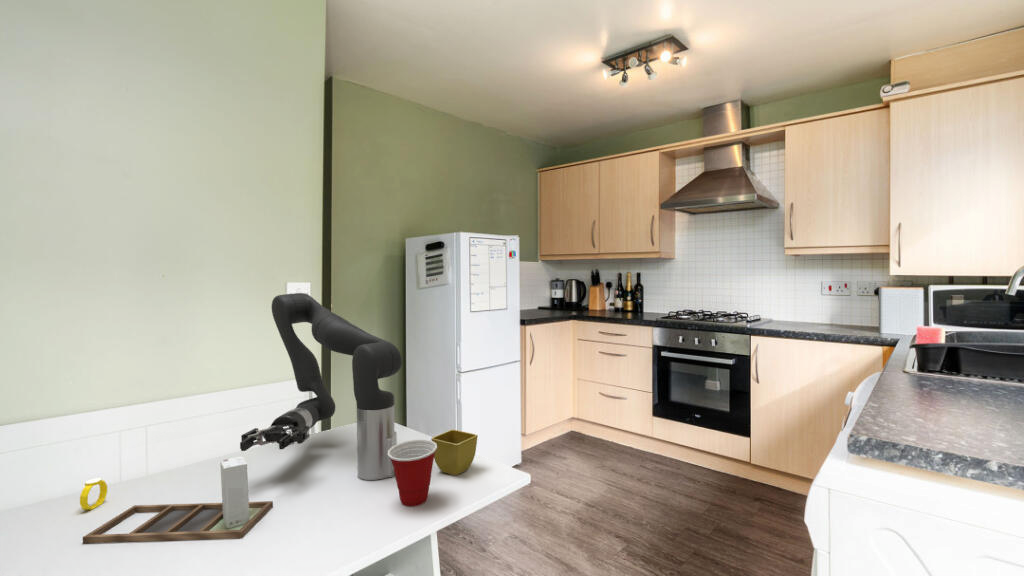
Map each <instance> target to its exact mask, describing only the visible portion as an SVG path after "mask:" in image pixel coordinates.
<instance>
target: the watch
mask: <svg viewBox="0 0 1024 576" xmlns="http://www.w3.org/2000/svg"><path fill="white" fill-rule="evenodd" d="M97 485H98V486H99V495H98V498H97V499H96V501H95V503H93V504H91V505H90V504H89V502H88V500H89V494H90V491H91V490H92V488H93V487H94V486H97ZM107 494H108V484H107V482H106V481H105V480H103V478H102V477H96V478H91V479H88V480H86V481H85V482H84V488H83V489H82V491H81V493H80V497H79V505H80V507H81V508H82V509H83V510H84V511H92V510H95V509H96V508H97V507H99V506H101V505H102V504H104V502H105V500H106V497H107Z"/></svg>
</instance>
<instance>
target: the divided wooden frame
mask: <svg viewBox="0 0 1024 576" xmlns="http://www.w3.org/2000/svg"><path fill="white" fill-rule="evenodd" d="M273 507H274V501H270V500H269V501H265V500H263V501H249V518H250V520H249V521H248V522H247V523H246V524H244V525H241V526H237V527H233V528H228V529H227V528H226V526H225V522H224V519H223V505H222V502H209V503H207V502H204V503H203V502H202V503H199V502H198V503H174V504H171V503H170V504H144V505H143V504H141V505H139V504H138V505H135V504H134V505H132V506H131V507H129V508H128V509H126V510H125V511H123V512H122V513H120V514H118V515H116V516H115V517H113V518H112V519H110V520H109V521H107V522H105V523H103V524H101V526H99V527H96V529H94V530H92V531H90V532H89V533H87V534H86V535H84V536H82V545H83V544H85V545H86V544H108V543H109V544H110V543H139V542H140V543H141V542H165V541H166V542H169V541H170V542H171V541H195V540H196V541H197V540H198V541H199V540H201V541H203V540H225V539H227V540H229V539H243V538H244V537H245V535H246V534H248V532H250V530H251V529H253V528H254V527H255V526H256V524H258V522H259V521H260V520H261V519H262V518H263V517H264V516H265V515H266V514H268V513H269V511H270V510H271V509H272V508H273ZM136 513H138V514H139V513H157V514H155V515H154V516H152V517H151V518H149V519H148V520H147V521H145V522H144V523H142V524H140V525H139V526H138V527H136V528H135V529H133V530H132V531H130V532H129V533H107V534H106V532H107V531H109V530H110V529H112V528H114V527H115V526H117V525H118V524H120V523H122V522H123V521H125V520H126V519H128V518H130V517H131V516H132V515H134V514H136Z"/></svg>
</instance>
